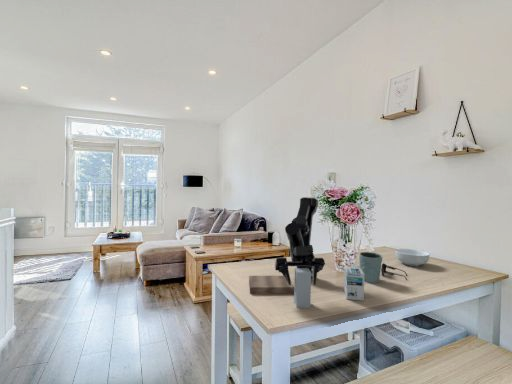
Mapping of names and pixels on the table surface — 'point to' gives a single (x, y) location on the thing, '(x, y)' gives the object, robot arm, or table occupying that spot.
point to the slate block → (302, 288)
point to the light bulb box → (354, 282)
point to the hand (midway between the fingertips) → (302, 284)
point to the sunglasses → (383, 270)
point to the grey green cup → (370, 266)
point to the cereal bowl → (412, 256)
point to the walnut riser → (269, 284)
